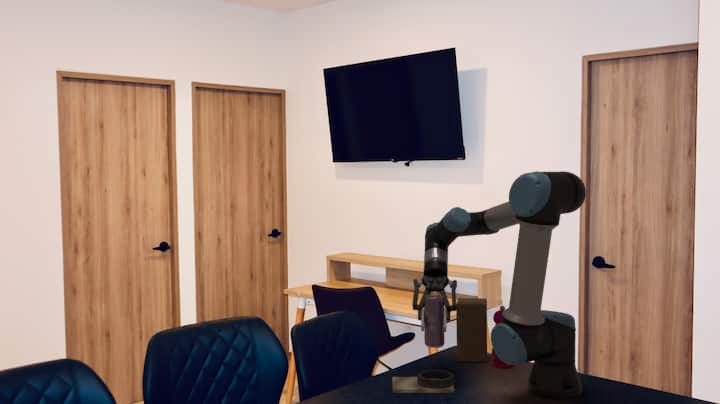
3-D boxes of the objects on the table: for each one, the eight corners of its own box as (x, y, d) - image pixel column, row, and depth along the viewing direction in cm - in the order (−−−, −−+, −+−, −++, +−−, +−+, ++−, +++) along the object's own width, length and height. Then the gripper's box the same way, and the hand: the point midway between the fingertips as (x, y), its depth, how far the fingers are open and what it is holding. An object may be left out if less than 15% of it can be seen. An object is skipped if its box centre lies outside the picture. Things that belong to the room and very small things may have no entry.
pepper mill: (487, 365, 224) (486, 305, 223) (500, 361, 228) (500, 302, 228) (505, 370, 218) (504, 308, 217) (518, 365, 223) (518, 305, 222)
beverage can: (447, 344, 204) (447, 295, 203) (439, 349, 199) (438, 298, 198) (429, 342, 207) (429, 293, 206) (421, 346, 202) (420, 296, 201)
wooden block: (486, 362, 227) (486, 303, 226) (456, 361, 229) (456, 303, 228) (487, 354, 237) (486, 298, 236) (458, 353, 239) (457, 297, 238)
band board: (451, 380, 209) (451, 369, 209) (455, 392, 197) (455, 381, 197) (392, 380, 209) (392, 369, 209) (392, 392, 198) (392, 381, 197)
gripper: (465, 273, 216) (466, 336, 200) (406, 272, 218) (402, 335, 203) (465, 259, 210) (466, 323, 195) (405, 258, 213) (400, 321, 198)
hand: (433, 329), depth 199 cm, fingers closed on beverage can, 6 cm apart
